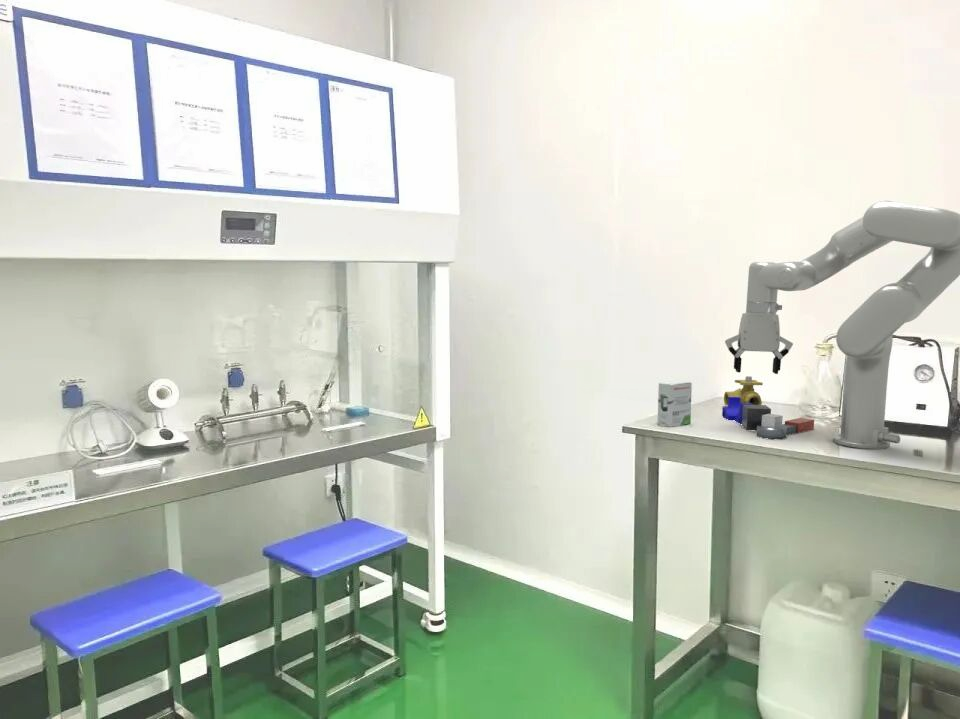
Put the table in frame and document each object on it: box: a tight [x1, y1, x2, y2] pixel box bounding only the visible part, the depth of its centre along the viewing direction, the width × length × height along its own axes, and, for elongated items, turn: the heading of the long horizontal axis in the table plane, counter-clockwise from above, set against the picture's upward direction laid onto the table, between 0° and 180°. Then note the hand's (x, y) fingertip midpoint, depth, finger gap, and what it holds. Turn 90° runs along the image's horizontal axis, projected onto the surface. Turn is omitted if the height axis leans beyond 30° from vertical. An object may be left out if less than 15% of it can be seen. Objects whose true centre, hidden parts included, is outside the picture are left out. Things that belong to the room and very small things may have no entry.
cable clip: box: [721, 397, 753, 425], centre depth 218 cm, size 12×4×6 cm, turn 0°
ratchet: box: [756, 413, 815, 440], centre depth 202 cm, size 21×7×6 cm, turn 128°
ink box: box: [657, 380, 693, 428], centre depth 212 cm, size 9×5×12 cm, turn 124°
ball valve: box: [723, 375, 763, 407], centre depth 239 cm, size 13×10×10 cm
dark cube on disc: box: [741, 404, 772, 432], centre depth 207 cm, size 6×6×6 cm
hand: (756, 372), depth 206 cm, fingers open, 9 cm apart
